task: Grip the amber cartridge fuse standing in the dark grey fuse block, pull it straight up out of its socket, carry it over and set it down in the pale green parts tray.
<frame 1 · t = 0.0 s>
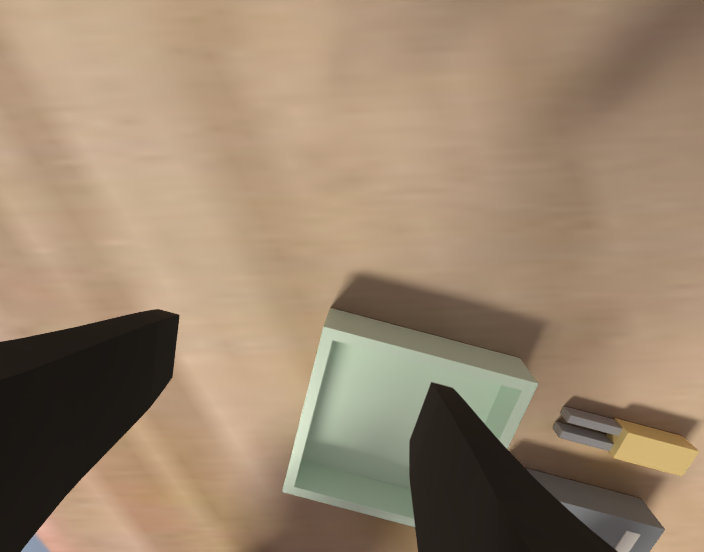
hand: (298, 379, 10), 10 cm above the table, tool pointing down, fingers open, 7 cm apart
fuse block: (532, 547, 24), on the table
puller tool: (615, 432, 21), on the table
parts tray: (397, 412, 22), on the table
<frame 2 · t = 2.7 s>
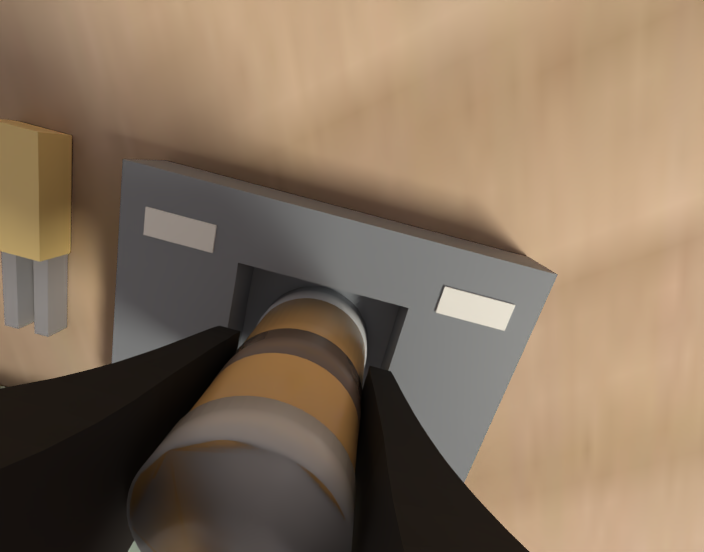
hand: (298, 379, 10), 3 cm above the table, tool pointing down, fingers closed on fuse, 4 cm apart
fuse block: (316, 331, 13), on the table
puller tool: (45, 233, 13), on the table
fuse: (314, 336, 12), resting on fuse block, touching gripper
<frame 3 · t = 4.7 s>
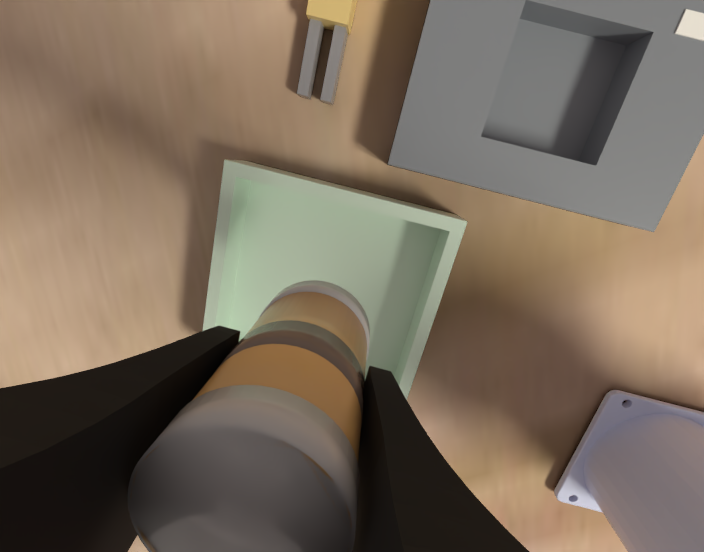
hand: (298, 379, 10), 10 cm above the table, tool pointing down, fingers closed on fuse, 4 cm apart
fuse block: (541, 96, 16), on the table
puller tool: (333, 17, 16), on the table
parts tray: (327, 287, 20), on the table
fuse: (316, 331, 12), point 7 cm above the table, touching gripper
when the fingers open (4 cm above the table, at t = 6.3 s): fuse drops 1 cm, resting on parts tray.
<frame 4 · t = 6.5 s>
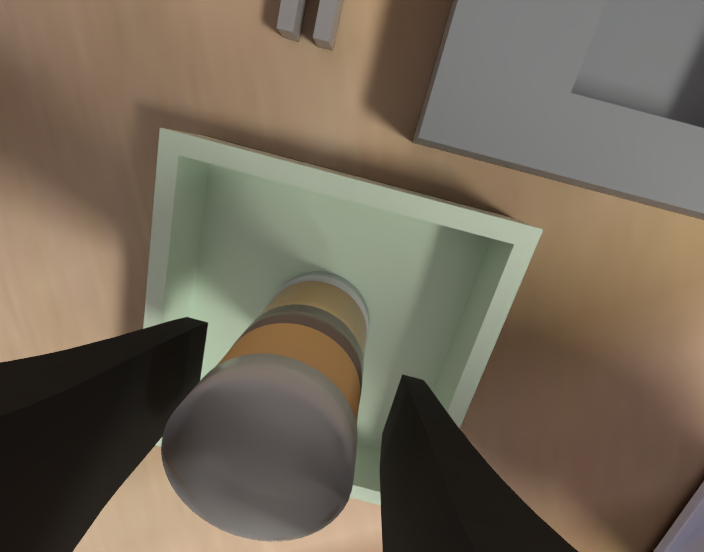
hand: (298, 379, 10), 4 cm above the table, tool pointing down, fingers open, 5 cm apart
fuse block: (655, 36, 11), on the table
parts tray: (321, 318, 14), on the table
fuse: (319, 318, 13), point 1 cm above the table, touching parts tray
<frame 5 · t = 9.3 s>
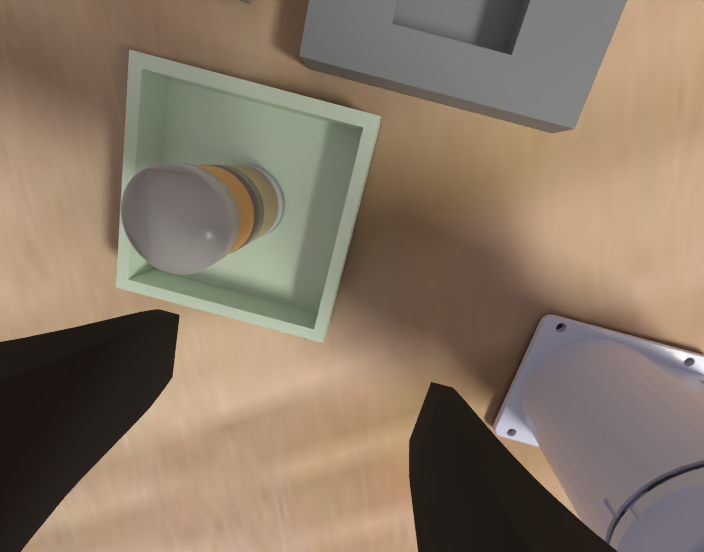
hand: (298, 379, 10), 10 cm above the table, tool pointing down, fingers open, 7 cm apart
parts tray: (253, 204, 19), on the table
fuse: (250, 201, 19), point 1 cm above the table, touching parts tray
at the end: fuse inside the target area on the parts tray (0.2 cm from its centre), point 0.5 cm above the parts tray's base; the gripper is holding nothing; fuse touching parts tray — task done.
